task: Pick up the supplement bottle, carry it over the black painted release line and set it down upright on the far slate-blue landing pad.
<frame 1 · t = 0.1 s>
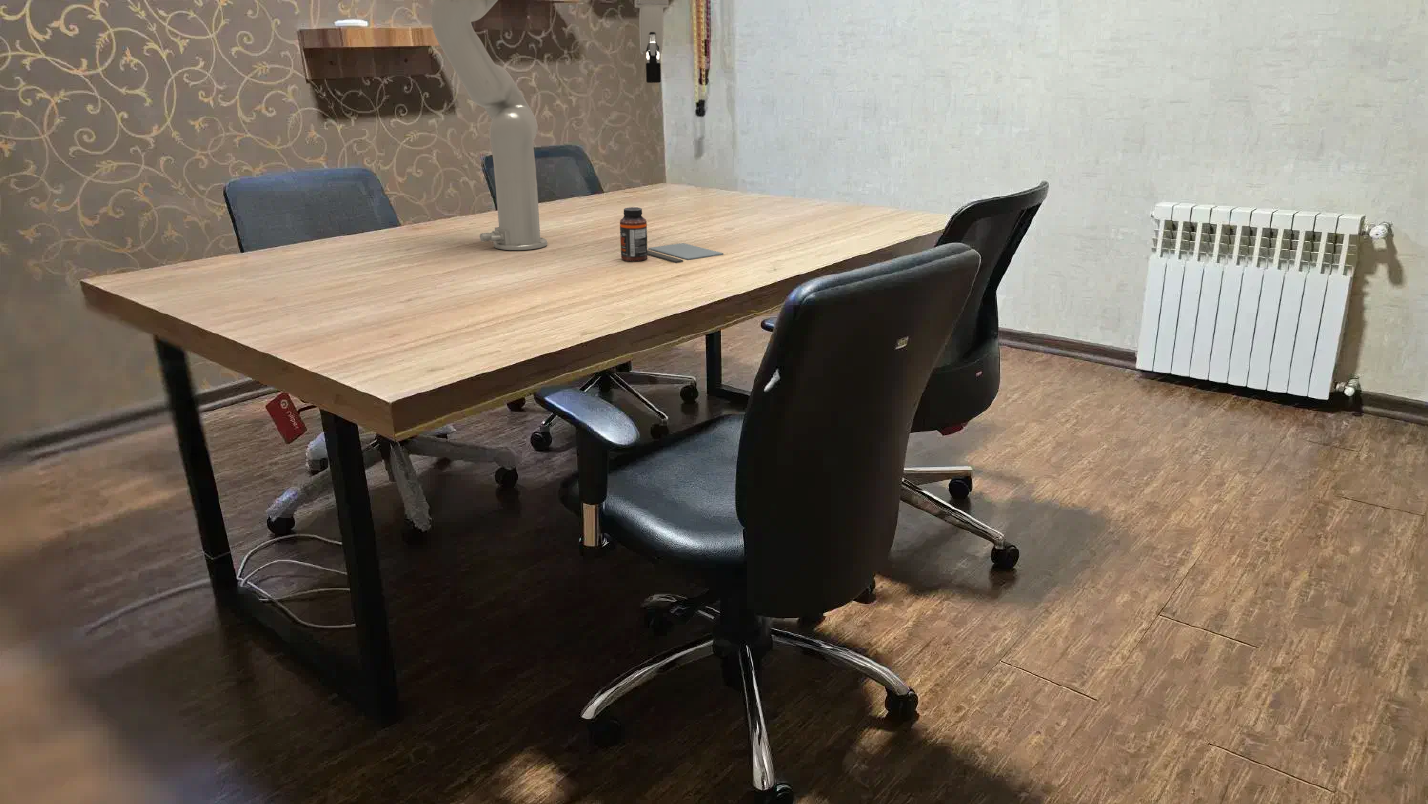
hand: (653, 82, 220), 37 cm above the table, tool pointing down, fingers open, 9 cm apart
supplement bottle: (634, 260, 216), on the table
landing pad: (685, 251, 224), on the table
release line: (656, 256, 220), on the table
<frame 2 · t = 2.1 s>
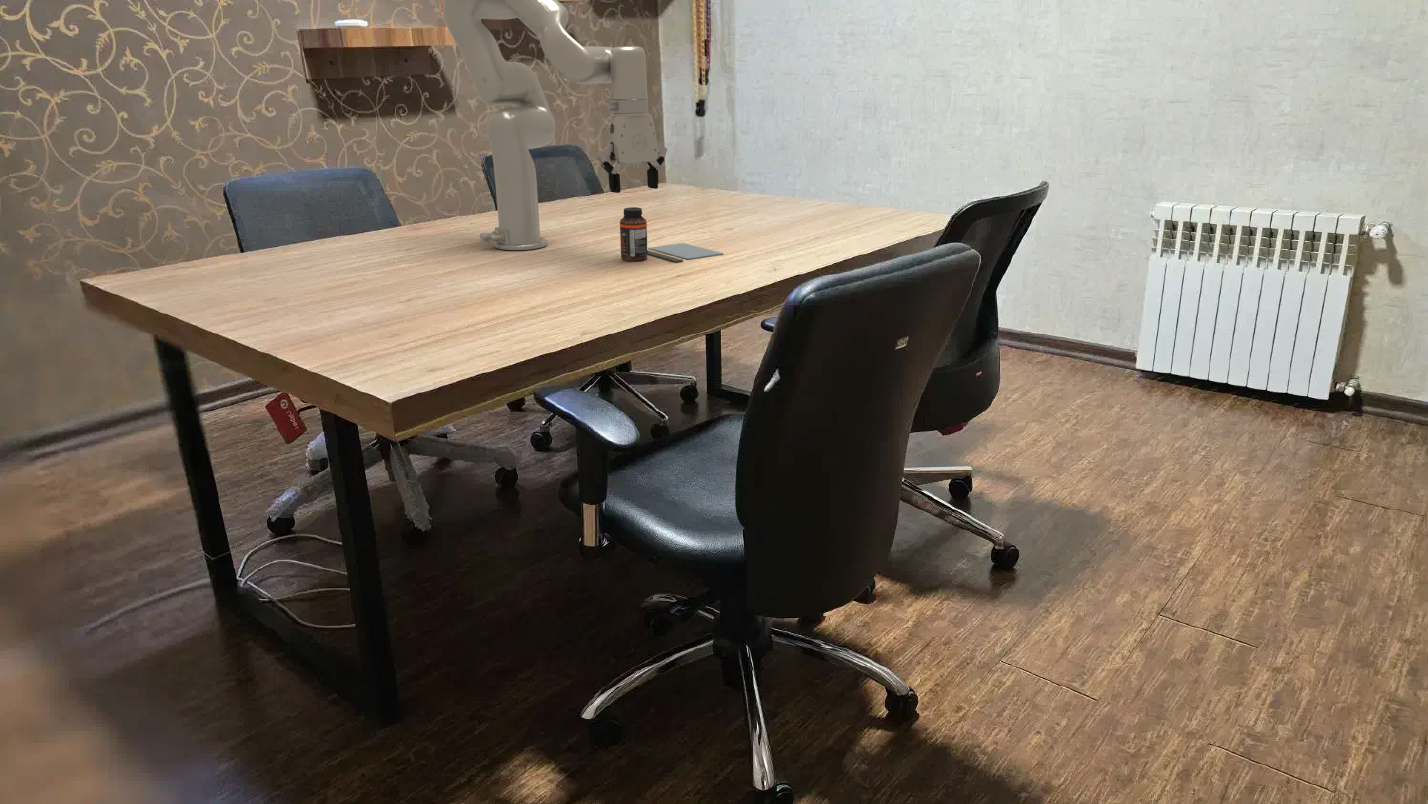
hand: (634, 190, 211), 15 cm above the table, tool pointing down, fingers open, 9 cm apart
nothing on the table moved.
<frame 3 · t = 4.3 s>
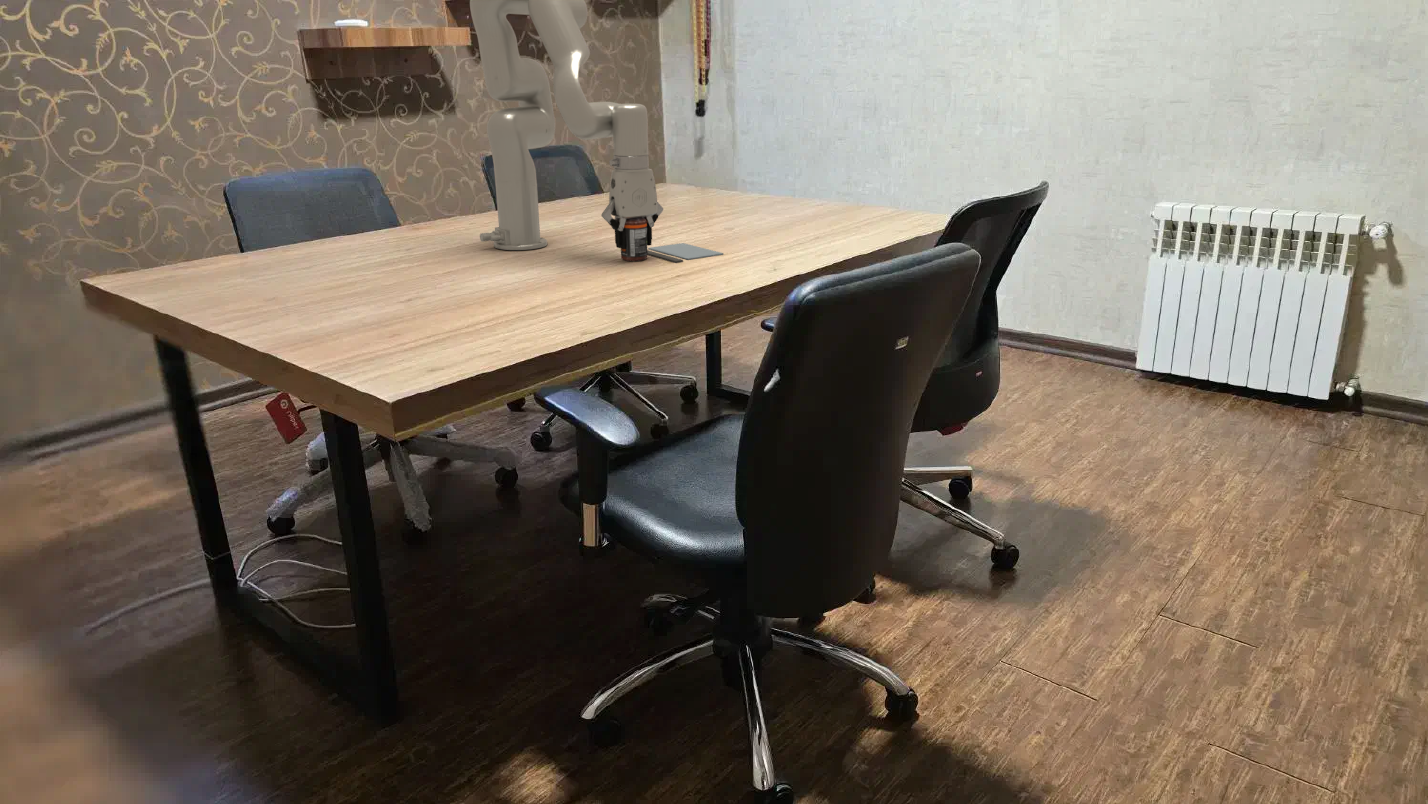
hand: (633, 245, 215), 3 cm above the table, tool pointing down, fingers closed on supplement bottle, 6 cm apart
supplement bottle: (634, 260, 216), on the table, touching gripper
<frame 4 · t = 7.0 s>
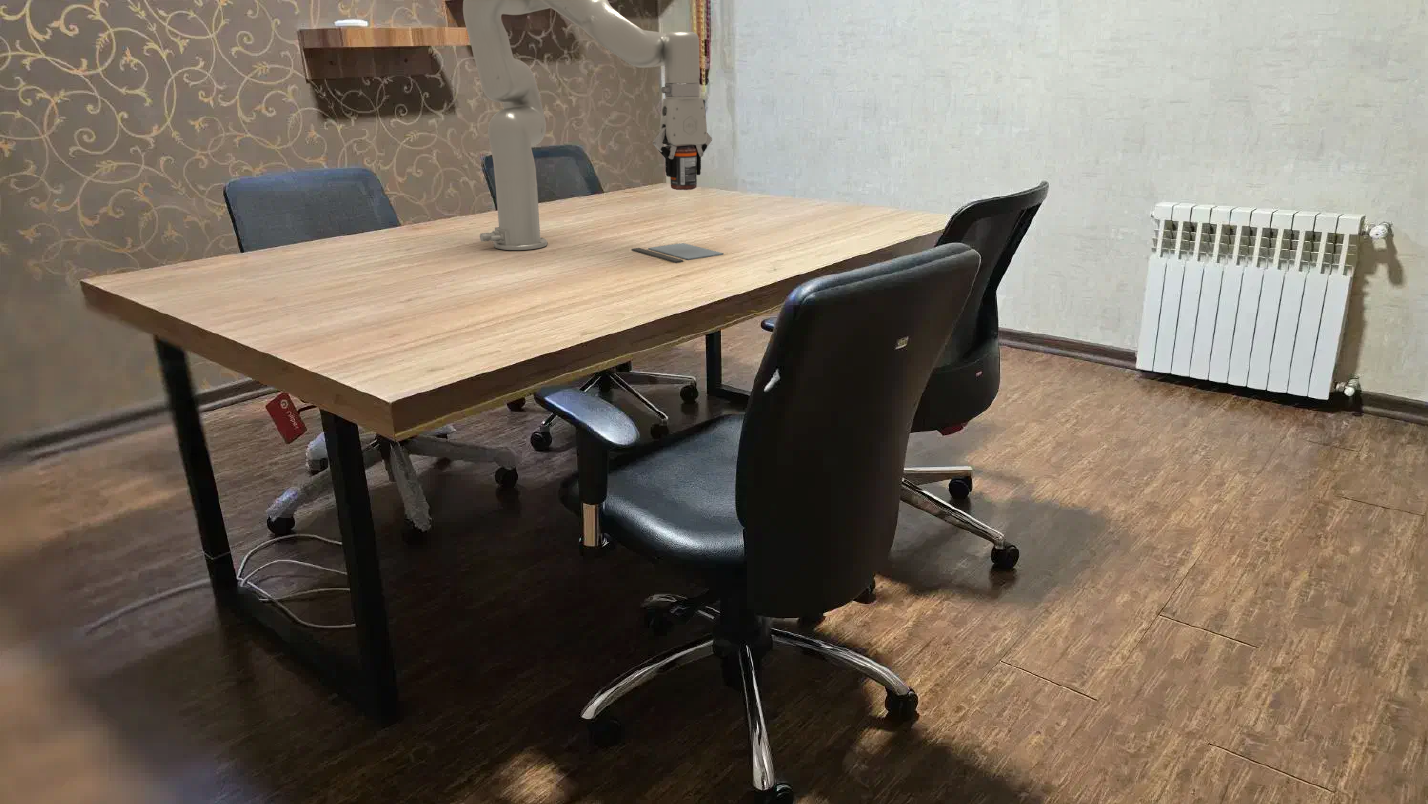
hand: (683, 174, 218), 18 cm above the table, tool pointing down, fingers closed on supplement bottle, 6 cm apart
supplement bottle: (683, 189, 219), point 14 cm above the table, touching gripper
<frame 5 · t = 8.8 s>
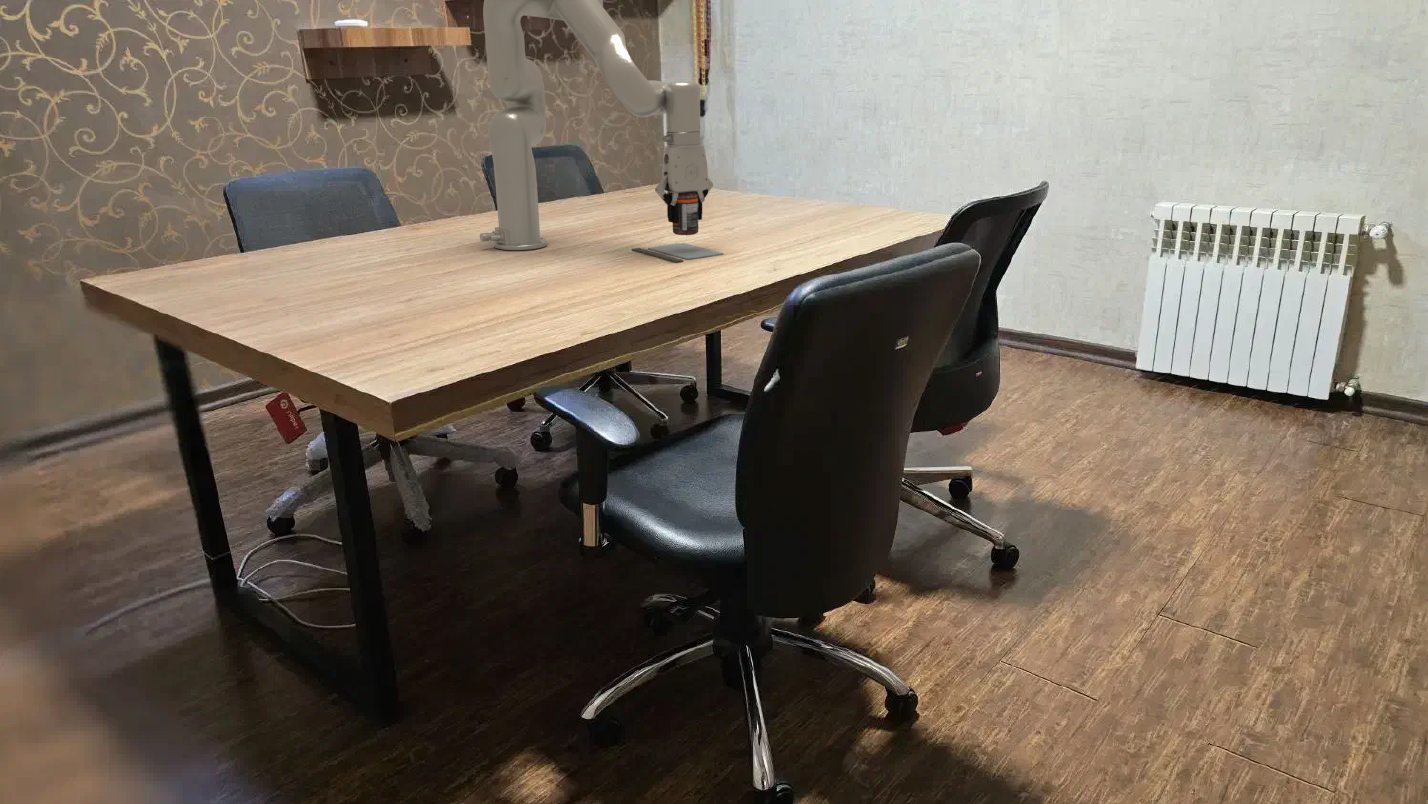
hand: (685, 220, 222), 7 cm above the table, tool pointing down, fingers closed on supplement bottle, 6 cm apart
supplement bottle: (685, 234, 223), point 4 cm above the table, touching gripper
when the fingers open (5 cm above the table, at t = 10.2 s): supplement bottle drops 1 cm, resting on landing pad.
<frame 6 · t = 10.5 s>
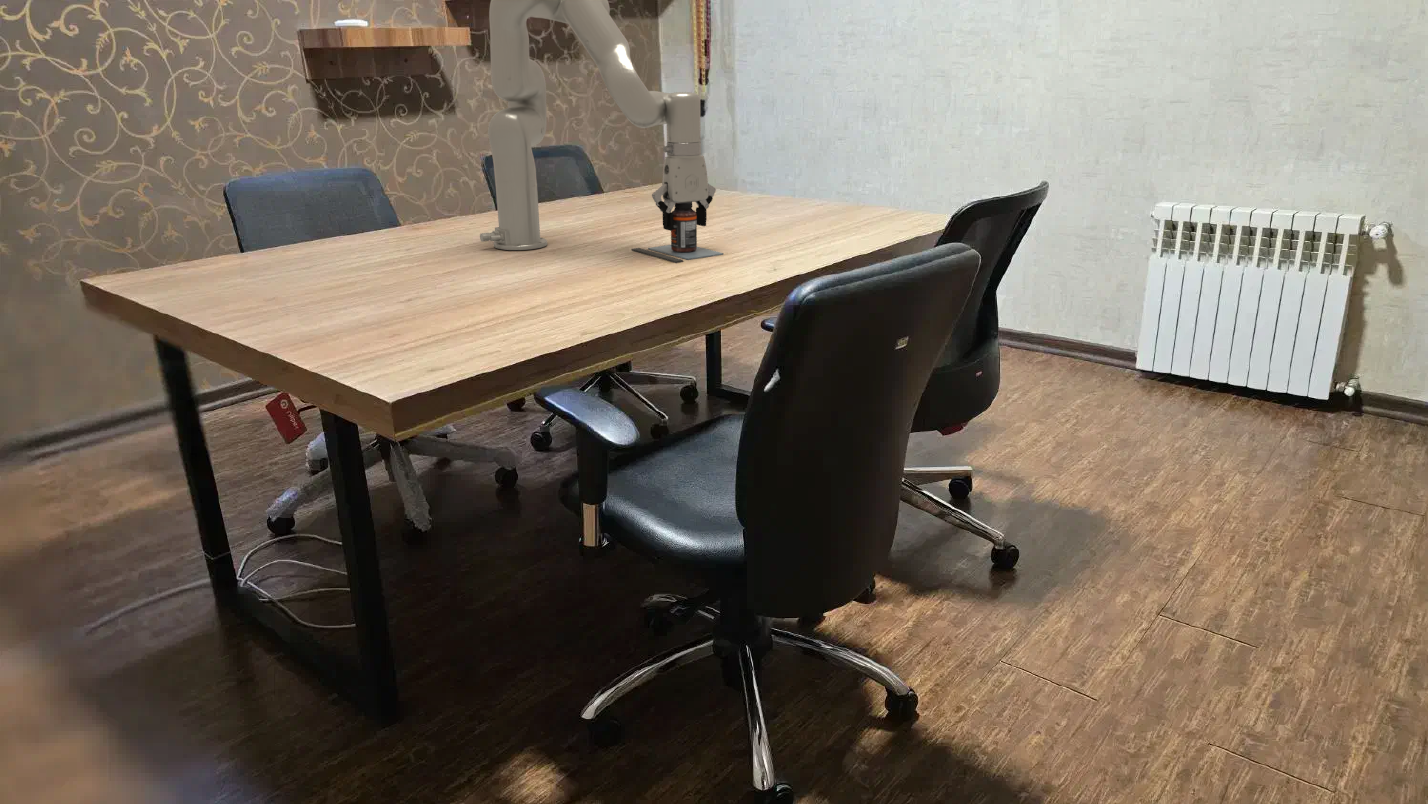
hand: (684, 227, 222), 6 cm above the table, tool pointing down, fingers open, 8 cm apart
supplement bottle: (684, 251, 224), resting on landing pad
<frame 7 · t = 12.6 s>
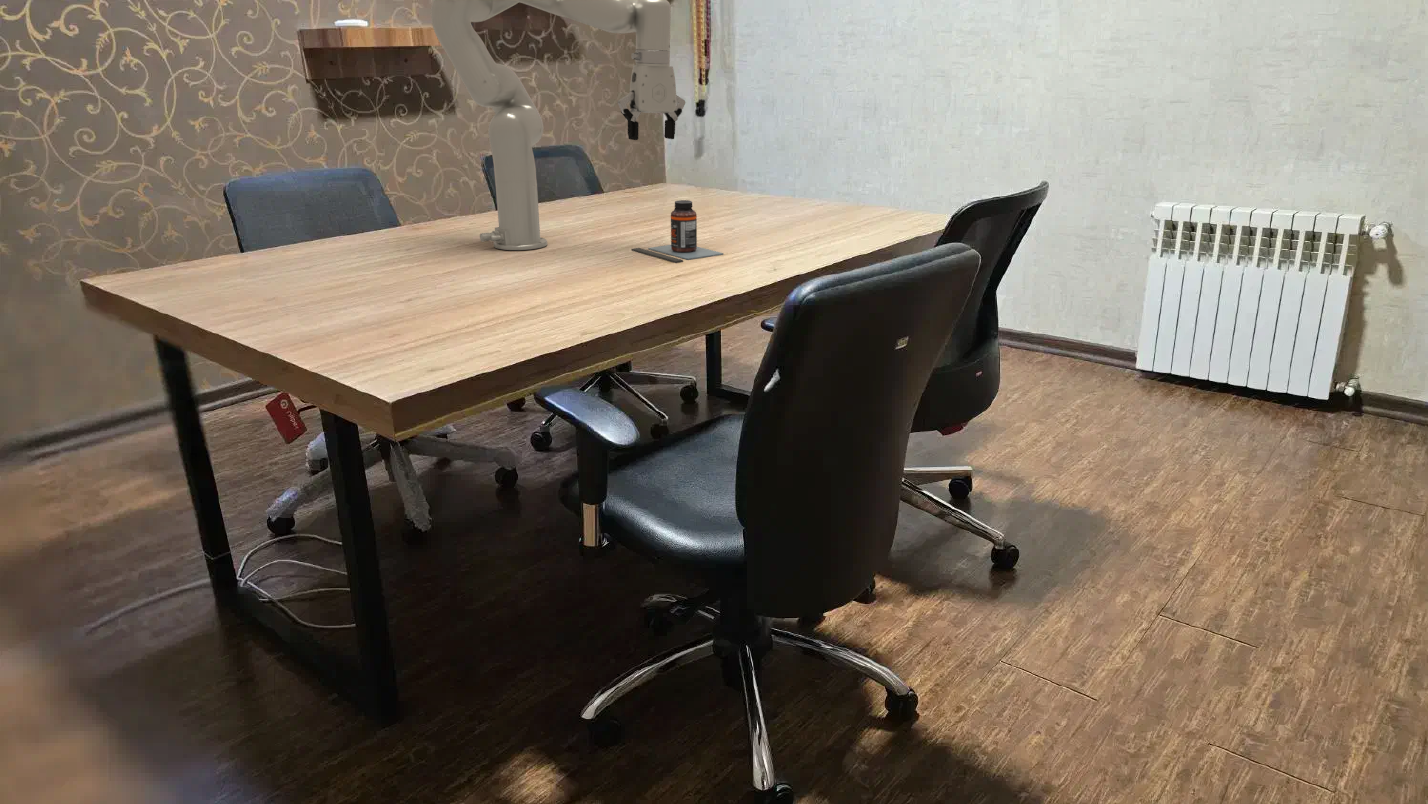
hand: (651, 139, 219), 25 cm above the table, tool pointing down, fingers open, 9 cm apart
nothing on the table moved.
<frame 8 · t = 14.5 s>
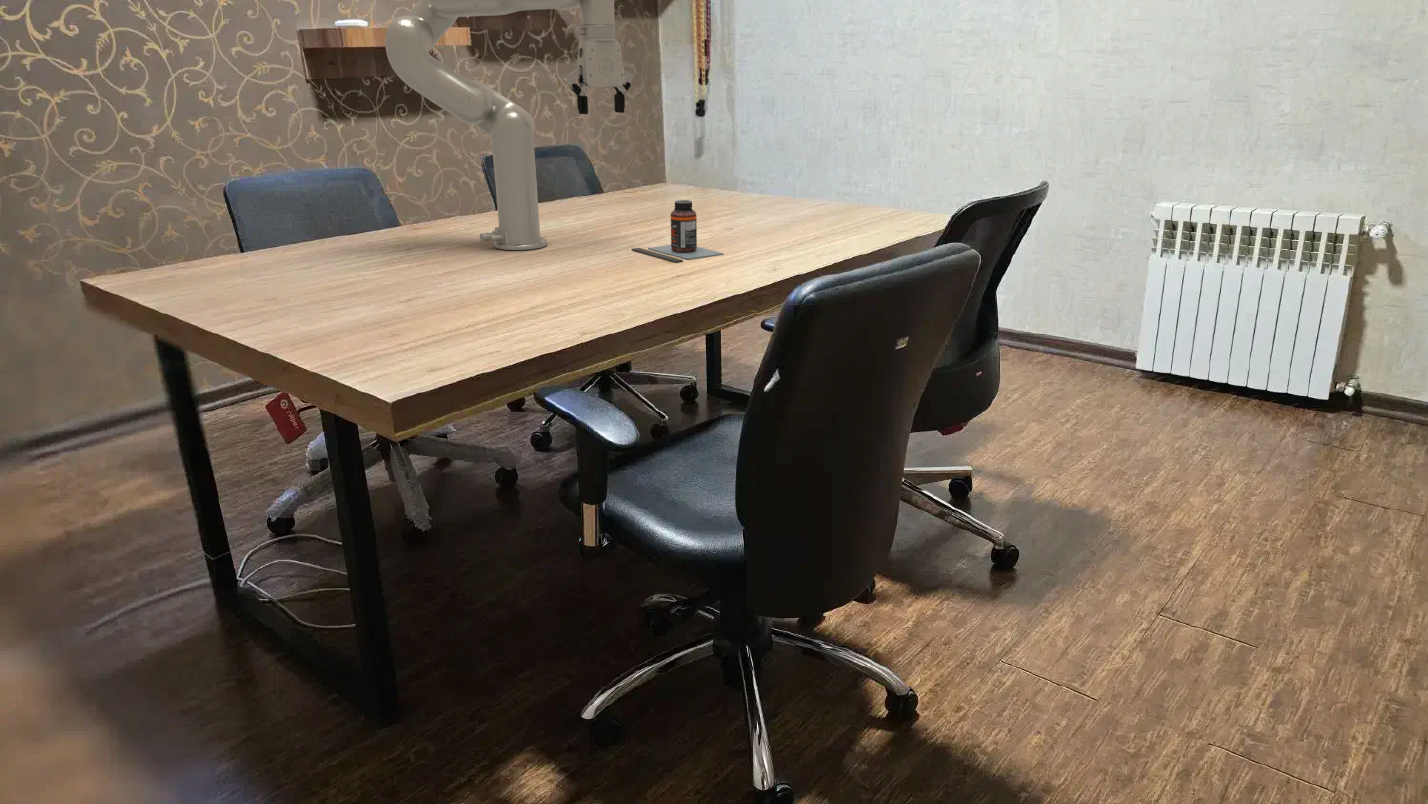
hand: (601, 113, 224), 30 cm above the table, tool pointing down, fingers open, 9 cm apart
nothing on the table moved.
at the end: supplement bottle inside the target area (0.8 cm from its centre), resting on landing pad; supplement bottle tilted 0°; the gripper is holding nothing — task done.
